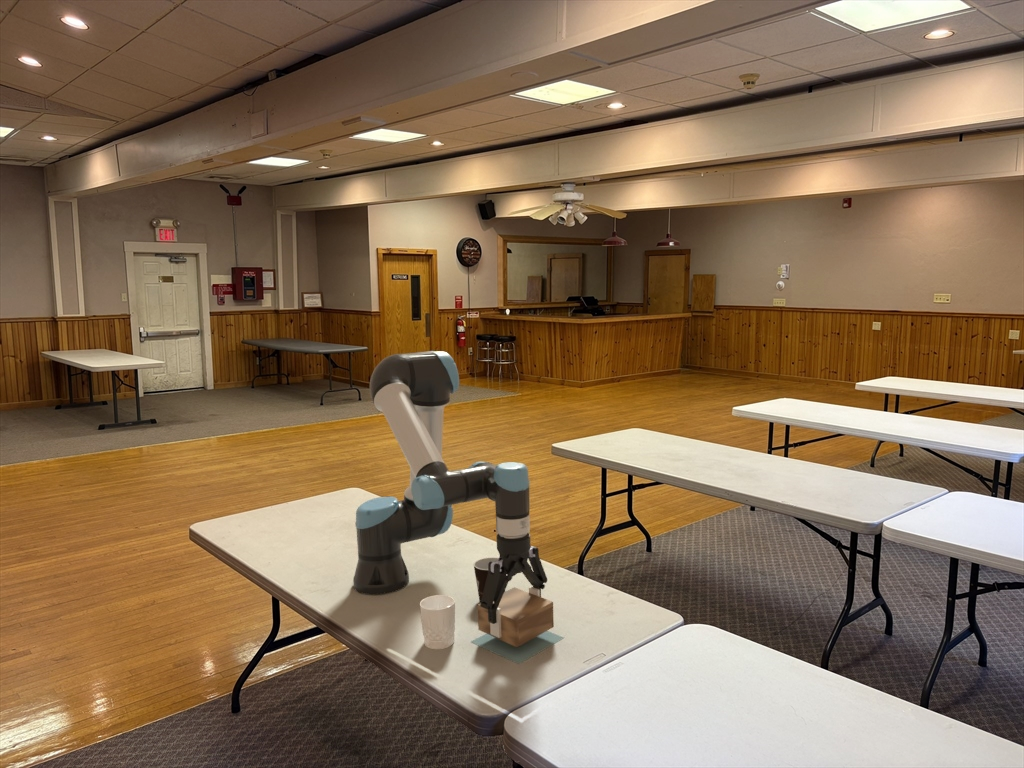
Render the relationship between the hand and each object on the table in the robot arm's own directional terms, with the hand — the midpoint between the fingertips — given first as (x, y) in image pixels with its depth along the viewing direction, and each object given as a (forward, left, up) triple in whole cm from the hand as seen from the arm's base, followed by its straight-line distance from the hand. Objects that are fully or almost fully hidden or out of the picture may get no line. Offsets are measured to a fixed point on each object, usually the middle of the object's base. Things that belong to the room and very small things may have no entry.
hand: (516, 625), depth 158 cm
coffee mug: (-21, +13, -4) cm, 25 cm away
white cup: (-13, -12, -4) cm, 18 cm away
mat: (0, 0, -4) cm, 4 cm away
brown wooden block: (0, 0, -1) cm, 1 cm away
